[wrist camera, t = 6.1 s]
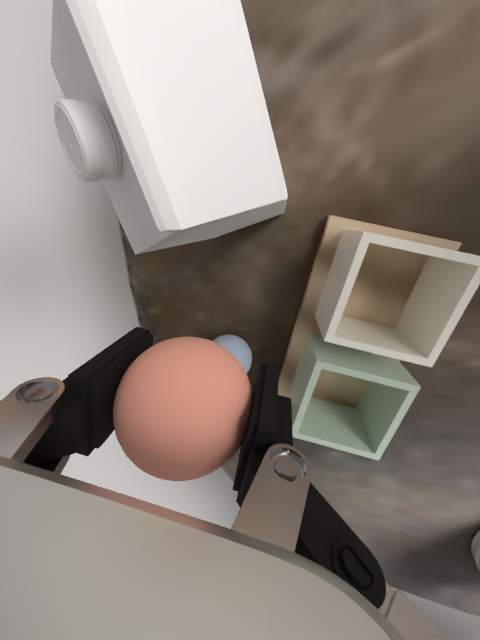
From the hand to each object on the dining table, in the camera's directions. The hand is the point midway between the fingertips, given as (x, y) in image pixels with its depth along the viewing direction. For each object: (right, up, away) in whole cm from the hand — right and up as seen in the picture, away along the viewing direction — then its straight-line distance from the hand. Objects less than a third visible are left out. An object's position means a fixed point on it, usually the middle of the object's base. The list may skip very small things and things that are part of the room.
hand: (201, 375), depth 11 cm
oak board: (+13, +2, +15) cm, 20 cm away
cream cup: (+14, +6, +12) cm, 19 cm away
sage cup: (+12, -3, +16) cm, 20 cm away
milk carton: (+1, +15, +12) cm, 19 cm away
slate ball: (+1, -1, +18) cm, 18 cm away
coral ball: (0, 0, +1) cm, 1 cm away
